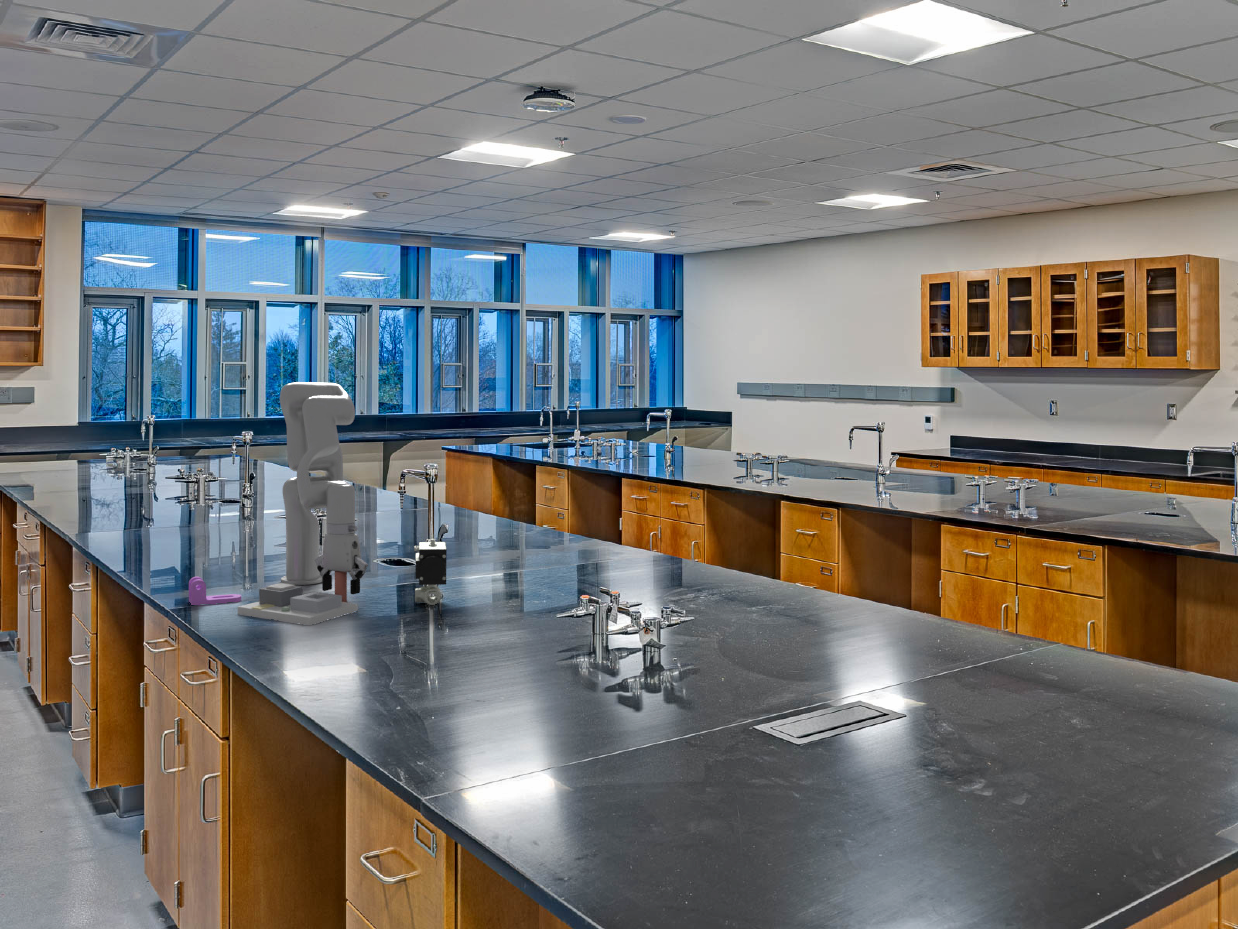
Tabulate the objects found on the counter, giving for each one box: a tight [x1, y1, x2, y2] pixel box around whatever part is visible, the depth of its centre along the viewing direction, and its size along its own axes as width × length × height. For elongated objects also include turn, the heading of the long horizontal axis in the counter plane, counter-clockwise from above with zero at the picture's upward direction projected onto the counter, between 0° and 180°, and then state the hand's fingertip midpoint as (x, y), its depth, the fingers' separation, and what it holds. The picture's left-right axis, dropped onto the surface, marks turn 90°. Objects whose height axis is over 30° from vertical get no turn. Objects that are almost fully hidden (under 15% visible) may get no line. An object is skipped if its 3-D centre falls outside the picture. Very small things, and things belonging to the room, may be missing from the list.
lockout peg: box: [334, 571, 348, 603], centre depth 276 cm, size 3×3×9 cm
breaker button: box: [266, 582, 296, 591], centre depth 266 cm, size 5×5×4 cm
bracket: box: [188, 576, 242, 606], centre depth 275 cm, size 13×6×7 cm, turn 119°
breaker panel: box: [237, 585, 359, 626], centre depth 264 cm, size 18×24×6 cm
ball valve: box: [413, 538, 448, 606], centre depth 279 cm, size 18×8×18 cm, turn 11°
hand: (341, 591), depth 276 cm, fingers open, 9 cm apart
